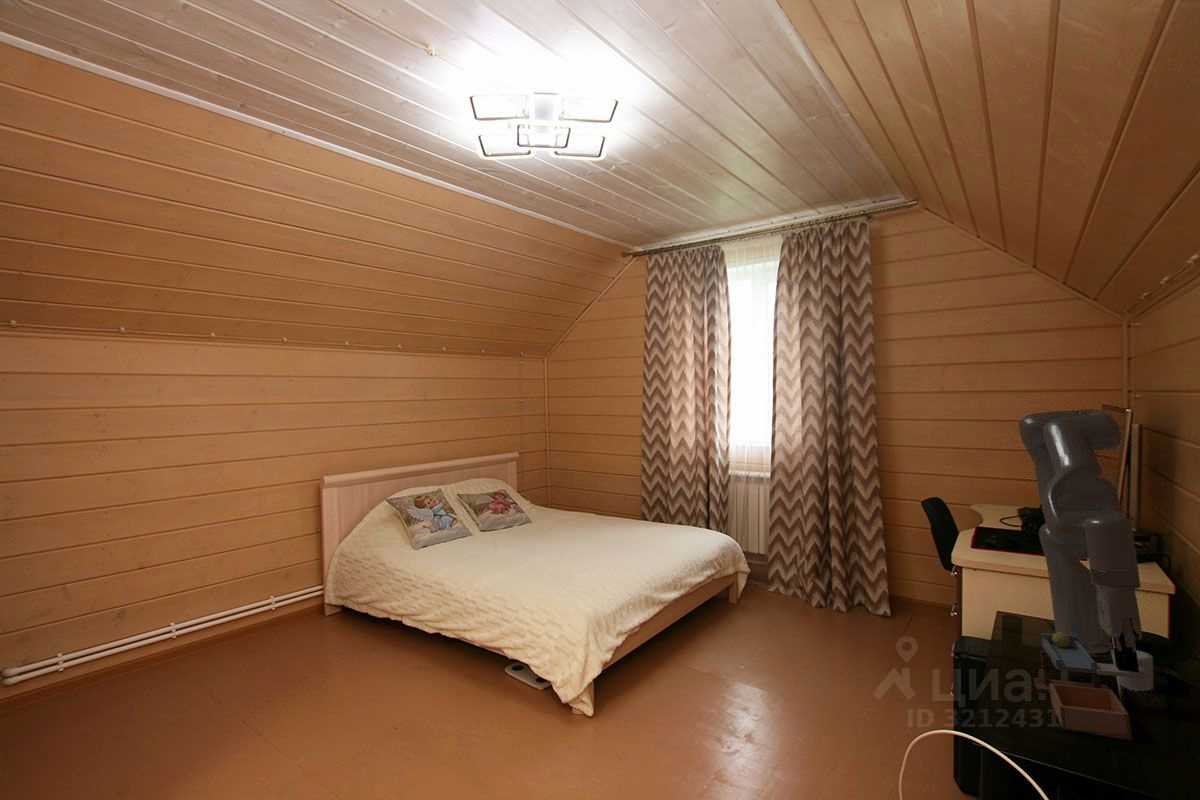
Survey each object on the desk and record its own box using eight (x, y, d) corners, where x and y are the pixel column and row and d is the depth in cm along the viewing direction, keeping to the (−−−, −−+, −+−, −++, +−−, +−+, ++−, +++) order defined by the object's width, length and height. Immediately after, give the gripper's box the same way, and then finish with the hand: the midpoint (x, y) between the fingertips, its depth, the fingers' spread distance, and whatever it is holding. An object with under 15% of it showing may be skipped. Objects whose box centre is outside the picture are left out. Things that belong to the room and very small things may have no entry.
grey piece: (1042, 649, 138) (1040, 632, 138) (1124, 656, 131) (1121, 638, 131) (1056, 673, 123) (1054, 655, 123) (1150, 682, 116) (1147, 663, 116)
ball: (1053, 647, 136) (1050, 632, 137) (1070, 649, 134) (1067, 634, 136) (1054, 645, 133) (1051, 630, 135) (1072, 647, 132) (1069, 632, 133)
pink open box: (1051, 705, 123) (1048, 683, 123) (1114, 712, 118) (1111, 689, 118) (1062, 731, 113) (1059, 707, 113) (1132, 740, 108) (1129, 715, 108)
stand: (1033, 681, 134) (1029, 645, 134) (1107, 688, 128) (1102, 651, 128) (1038, 692, 129) (1033, 654, 129) (1115, 700, 122) (1109, 661, 123)
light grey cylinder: (1165, 693, 124) (1161, 659, 124) (1128, 693, 125) (1123, 659, 125) (1143, 679, 130) (1138, 647, 131) (1107, 679, 132) (1103, 647, 132)
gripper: (1082, 568, 129) (1094, 654, 127) (1101, 585, 116) (1114, 682, 114) (1127, 569, 125) (1139, 658, 124) (1151, 587, 112) (1165, 687, 111)
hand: (1127, 669), depth 119 cm, fingers closed
